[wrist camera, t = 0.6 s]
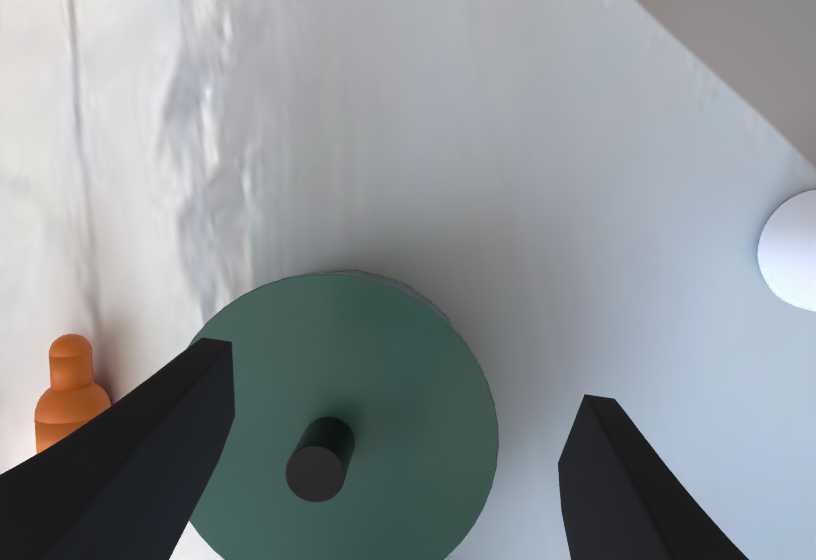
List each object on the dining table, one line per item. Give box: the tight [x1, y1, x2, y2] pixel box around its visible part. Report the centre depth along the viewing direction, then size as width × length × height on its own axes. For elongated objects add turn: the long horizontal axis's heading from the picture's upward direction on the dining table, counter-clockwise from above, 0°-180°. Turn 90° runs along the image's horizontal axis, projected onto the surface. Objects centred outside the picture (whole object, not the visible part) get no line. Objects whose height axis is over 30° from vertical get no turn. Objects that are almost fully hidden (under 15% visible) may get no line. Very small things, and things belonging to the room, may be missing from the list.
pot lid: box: [188, 273, 499, 560], centre depth 25 cm, size 15×15×4 cm
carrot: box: [35, 334, 111, 454], centre depth 31 cm, size 10×4×4 cm, turn 179°
